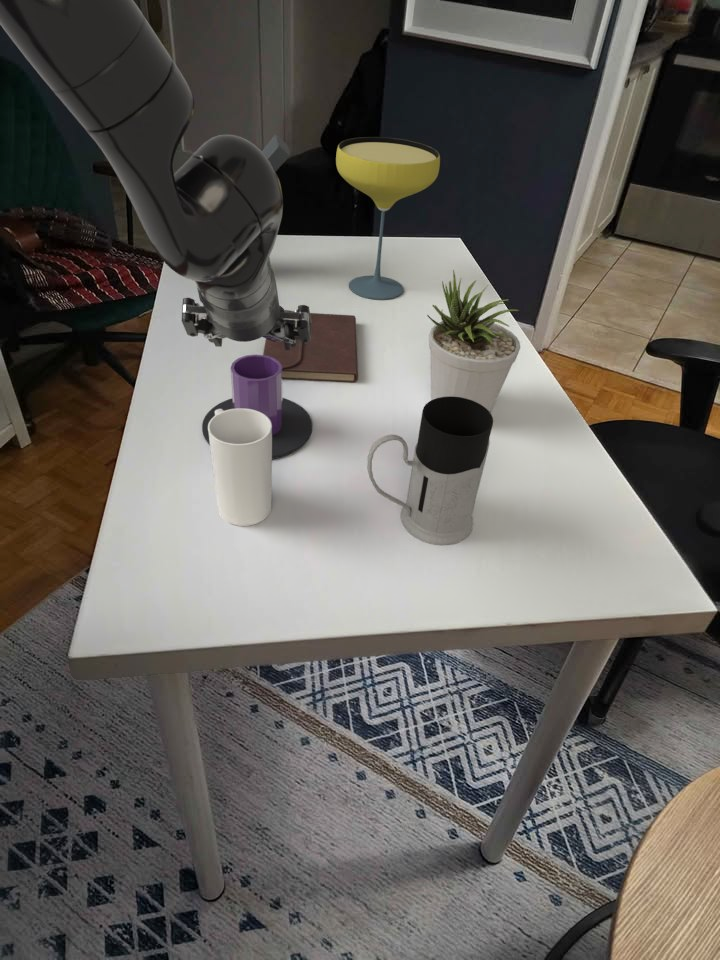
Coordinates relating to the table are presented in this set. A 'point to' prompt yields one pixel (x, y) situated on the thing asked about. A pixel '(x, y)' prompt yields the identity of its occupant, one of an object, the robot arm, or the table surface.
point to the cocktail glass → (385, 189)
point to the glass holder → (443, 469)
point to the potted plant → (470, 350)
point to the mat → (289, 436)
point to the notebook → (321, 351)
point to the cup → (258, 387)
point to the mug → (242, 464)
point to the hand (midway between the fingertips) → (253, 340)
